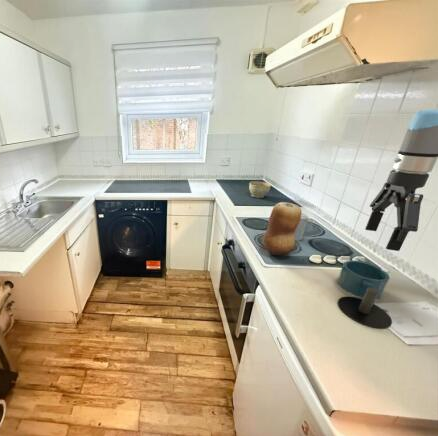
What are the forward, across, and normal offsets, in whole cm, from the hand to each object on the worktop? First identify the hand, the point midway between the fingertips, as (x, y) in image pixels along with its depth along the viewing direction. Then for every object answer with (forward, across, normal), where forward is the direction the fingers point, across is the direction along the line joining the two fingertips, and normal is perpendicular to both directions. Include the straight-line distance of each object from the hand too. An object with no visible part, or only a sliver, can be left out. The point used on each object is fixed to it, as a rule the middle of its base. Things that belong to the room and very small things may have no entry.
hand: (380, 239), depth 74 cm
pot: (+25, -9, +4) cm, 27 cm away
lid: (+24, +5, +1) cm, 25 cm away
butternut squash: (+25, -27, -22) cm, 43 cm away
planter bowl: (+25, -121, -26) cm, 126 cm away
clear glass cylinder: (+25, -50, -11) cm, 57 cm away
